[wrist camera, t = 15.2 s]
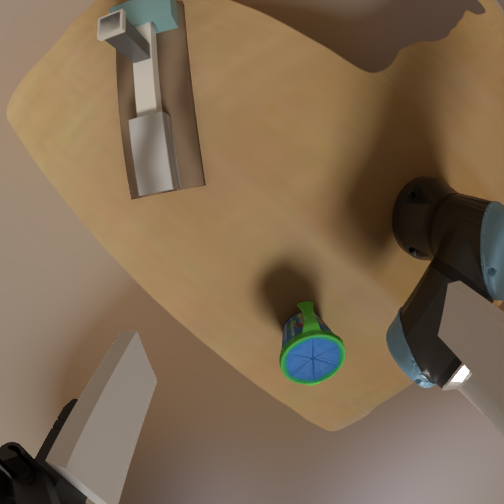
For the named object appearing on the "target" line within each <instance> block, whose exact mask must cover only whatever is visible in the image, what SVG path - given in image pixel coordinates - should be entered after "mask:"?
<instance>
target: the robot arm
mask: <svg viewBox="0 0 504 504" xmlns="http://www.w3.org/2000/svg"><path fill="white" fill-rule="evenodd" d="M392 222H393V231H394V235H395V238H396V240H397V242H398V244H399V246H400V247H401V248H402V249H403V250H404V251H405V252H406V253H408V254H409V255H411V256H413V257H414V258H417V259H420V260H431V263H430V265H429V266H428V268H427V269H426V271H425V273H424V274H423V276H422V278H421V279H420V281H419V283H418V284H417V286H416V287H415V289H414V290H413V292H412V293H411V295H410V296H409V298H408V299H407V301H406V302H405V304H404V305H403V306H402V307H401V308H400V309H399V310H398V314H397V316H396V317H395V319H394V320H393V322H392V323H391V325H390V326H389V328H388V330H387V334H386V340H387V345H388V348H389V351H390V353H391V355H392V357H393V358H394V360H395V361H396V363H397V364H398V366H399V367H400V368H401V369H402V371H403V372H404V373H405V374H406V375H407V376H408V377H409V378H410V379H411V380H412V381H415V382H416V383H417V384H418V385H419V386H421V387H423V388H430V387H431V386H434V385H435V384H437V385H438V386H439V387H440V388H441V389H442V390H450V389H458V390H460V392H461V393H462V394H464V396H466V397H467V399H468V400H470V402H471V403H472V404H473V405H475V407H476V408H477V409H478V410H479V411H480V412H481V413H482V414H483V415H484V416H485V417H486V418H487V419H488V420H489V421H490V422H491V423H492V424H493V425H494V426H495V427H496V428H497V429H498V430H499V431H500V432H501V434H502V435H503V436H504V312H503V311H501V310H500V309H499V308H497V307H496V306H495V305H493V304H492V303H493V302H494V300H501V301H503V300H504V205H502V204H501V203H499V202H496V201H489V200H485V199H481V198H477V197H473V196H469V195H464V194H460V193H458V192H456V191H455V190H454V189H453V188H452V187H450V186H449V185H448V184H447V183H445V182H444V181H442V180H440V179H437V178H432V177H420V178H417V179H414V180H412V181H411V182H410V183H408V184H407V185H406V186H405V187H404V188H403V190H402V191H401V193H400V194H399V196H398V198H397V200H396V203H395V206H394V210H393V220H392ZM156 383H157V379H156V377H155V375H154V372H153V370H152V368H151V365H150V363H149V361H148V358H147V356H146V353H145V351H144V348H143V346H142V343H141V341H140V338H139V335H138V333H137V331H121V332H120V333H119V335H118V336H117V338H116V339H115V341H114V342H113V344H112V345H111V347H110V348H109V350H108V352H107V353H106V355H105V356H104V358H103V359H102V361H101V363H100V364H99V366H98V367H97V369H96V371H95V372H94V374H93V375H92V377H91V379H90V380H89V382H88V384H87V385H86V387H85V389H84V390H83V392H82V394H81V396H80V397H79V399H73V400H71V401H70V402H69V403H68V404H67V405H66V406H65V407H64V408H63V410H62V411H61V413H60V415H59V416H58V420H56V421H55V423H54V425H53V428H52V429H51V430H50V432H49V434H48V436H47V438H46V439H45V441H44V443H43V445H42V447H41V449H40V450H39V452H38V454H37V456H36V458H35V459H33V458H32V457H31V456H30V455H29V454H28V453H27V451H25V449H24V448H23V447H22V446H21V445H20V444H18V443H15V442H9V443H6V444H4V445H2V446H1V447H0V504H86V503H85V502H86V499H87V497H88V498H89V499H90V500H92V501H93V502H94V503H96V504H118V503H119V499H120V496H121V492H122V488H123V485H124V482H125V478H126V475H127V472H128V468H129V465H130V462H131V458H132V455H133V452H134V449H135V446H136V443H137V439H138V436H139V433H140V430H141V427H142V424H143V421H144V418H145V415H146V412H147V409H148V406H149V404H150V401H151V398H152V395H153V392H154V389H155V386H156Z"/></svg>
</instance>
